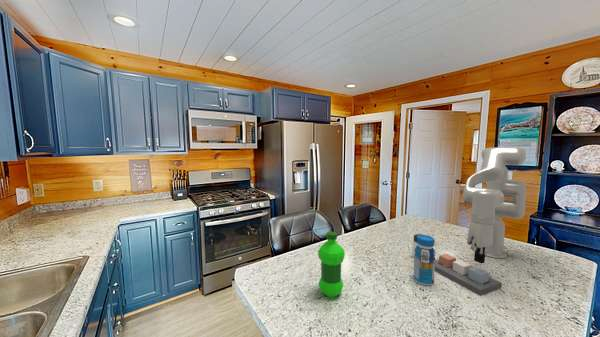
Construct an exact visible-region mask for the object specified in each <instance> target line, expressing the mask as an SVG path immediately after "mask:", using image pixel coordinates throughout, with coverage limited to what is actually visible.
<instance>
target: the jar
mask: <svg viewBox="0 0 600 337" xmlns="http://www.w3.org/2000/svg"><path fill="white" fill-rule="evenodd" d="M418 235H423V233H422V234H421V233H416V234H414V235H413V240H412V246H411V248H412V249H411V257H412V259H414V254H415V248H416V246H417V245H418V244H417V236H418Z"/></svg>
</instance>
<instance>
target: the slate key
mask: <svg viewBox="0 0 600 337" xmlns="http://www.w3.org/2000/svg"><path fill="white" fill-rule="evenodd" d="M489 277H490V273H489V272H488V271H486V270H484V269H481V268H480V267H477V266H475V267H471V269H469V275H468V278H469V279H471V280H473V281H474V282H476V283H478V284H480V285H483V283H486V282H488V280H489Z"/></svg>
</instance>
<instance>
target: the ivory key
mask: <svg viewBox="0 0 600 337" xmlns="http://www.w3.org/2000/svg"><path fill="white" fill-rule="evenodd" d="M471 268H473V267H472V264H470V263H469V262H466V261H464V260H461V259H458V260H456V261H454V262H453V271H455V272H457V273H458V274H460V275H462V276H465V275H467V274H469V269H471Z"/></svg>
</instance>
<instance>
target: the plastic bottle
mask: <svg viewBox="0 0 600 337" xmlns="http://www.w3.org/2000/svg"><path fill="white" fill-rule="evenodd" d="M325 238H326V239H327V241H325V242H324V243H323V244H321V245H320V247H319V249H318V253H317V255H318V259H319V260H320V261H321V263H320V264H321V265H320V270H321V272H320V279H319V281H318V287H319V289H320V291H321V292H322V293H323V294H324V296H327V297H328V296H329V297H328V298H335V297H337V296H339V295H340V294H341V293H342V291H343V288H344V281H343V280H342V263H343V262H344V259H345V253H346V252H345V249H344V248H343V247H342V246H341V245H340V244H339V243H338V242H337V238H338V233H337V232H336V231H326V236H325ZM336 295H337V296H336ZM334 296H335V297H334Z"/></svg>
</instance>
